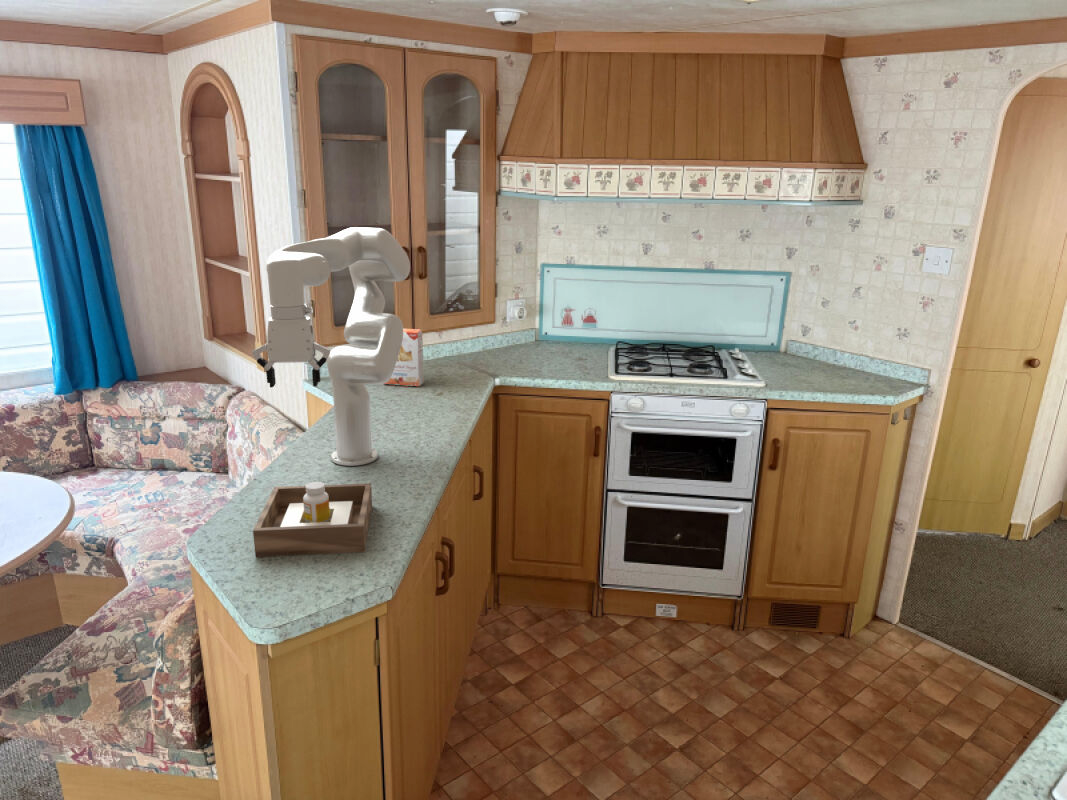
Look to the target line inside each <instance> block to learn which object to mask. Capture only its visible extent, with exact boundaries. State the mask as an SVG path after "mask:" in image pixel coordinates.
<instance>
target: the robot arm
mask: <svg viewBox="0 0 1067 800" xmlns="http://www.w3.org/2000/svg"><path fill="white" fill-rule="evenodd" d="M346 268H348V270H349V273H350V277H351V282H352V286H353V289H354V290H353V291H354V297H353V301H352V305H351V308H350V310H349V313H348V316H347V318H346V323H345V326H344V330H343V336H344V339H345V341H346V342H347V343H348V344H349V345H338V346H335V347H334V348H332V349H330V348H328V347H326V346H324V345H322V344H320V343H317V342H315V333H314V328H313V324H312V320H311V317H310V316H307V315H309V314H313V313H314V311H313V307H312V306H311V307H309V306H307V304H306V297H305V287H319V286H322V285H324V284H325V283H326V282H327V281H328V280H329V278H330V276H331V273H332V272H340V271H342V270H344V269H346ZM266 272H267V273H266V274H267V283H268V292H269V293H268V294H269V303H270V304H269V305H270V316H271V317H269V318H268V321H267V333H266V334H267V336H266V337H267V339H266V341H267V343H265V344H263V345H261V346H259V347H256V348H255V349H253V350H252V351H251V355H252V356H253V358H254V359H255V360H256V362H257V364H258V365H259V366H260V367H262V368H263V370H264V371H265V374H266V382H267V384H269V388H273V387H275V386H276V370H275V368H274V364H278V363H279V364H283V363H285V364H287V363H308V364H310V366H311V367H312V370H311V376H312V387H317V386H318V385H319V383H321V367H322V366H323V365H325V364H326V367H327V372H328V376H329V379H330V382H331V389H332V399H333V415H334V416H333V417H334V433H335V444H336V449H335V450H334V451H333V452H332V453H331V455H330V458H331V459H330V460H331V461H332V462H333V463H334V464H336V465H339V466H346V467H347V466H348V467H350V466H351V467H353V466H354V467H355V466H363V465H366V464H370V463H373V462H374V461H375V460H376V459H378V457H379V456H378V455H379V454H378V453H379V451H377V450H376V449H375V448H373V446H372V445H373V444H372V442H373V441H372V424H371V423H372V421H371V403H370V401H371V400H370V394H369V392H368V389H367V387H366V386H365V384H371V385H383V384H384V383H387V382H388V381H389V380H390V378H391V376H392V374H393V371H394V368H395V364H396V361H397V358H398V354H399V351H400V348H401V344H402V340H403V333H404V330H403V328H404V325H403V321H402V319H401V318H400V317H399V316H397V315H396V314H393V313H387V312H386V313H385V312H384V310H385V306H386V299H385V297H384V294H383V293H382V292H383V291H382V290H381V289H380V288H379V286H378V285H377V283H376V282H395V283H396V282H403V281H405V280H406V279H407V278H408V276H409V275H410V272H411V262H410V259H409V256H408V254H407V252H406V251H405V250H404V248H403V247H402V245H401V244H400V243H399V242H398V240H397V239H396V238H395V237H394V236H393V234H392V233H390V231H388V230H386V229H384V228H380V227H363V226H362V227H361V226H360V227H357V226H355V227H354V226H353V227H348V228H346V229H343V230H341V231H339V232H337V233H335V234H332V235H330V236H327V237H324V238H317V239H312V240H309V241H304V242H299V243H294V244H289V245H286V246H284V247H282V248H279V249H277V250H275V251H273V253H272V254H271V255H270V256H269V257H268V260H267V262H266ZM266 351H267V358H268V360H266V359H265V358H264V357H263V356H262V354H263V353H264V352H266ZM316 351H318V352H320V353H322V356H321V358H320V359H319V360H318V359H317V357H316V353H317V352H316Z"/></svg>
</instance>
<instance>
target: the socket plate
mask: <svg viewBox="0 0 1067 800" xmlns="http://www.w3.org/2000/svg"><path fill="white" fill-rule="evenodd" d="M329 510H330V519H331V522H315V523H304V521H305V516H304V503H290V504H289V507H288V509H287V512H286V514H285V516H284V519H283V521H282V524H281V526H280V527H292V526H315V525H339V524H350V523H351V519H352V514H353V501H341V502H329Z"/></svg>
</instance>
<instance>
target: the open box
mask: <svg viewBox="0 0 1067 800" xmlns="http://www.w3.org/2000/svg"><path fill="white" fill-rule="evenodd" d="M324 485H325V491H324V492H326V493H327V494H328V496H329V502H341V501H353V514H352V519H351V523H350V524H339V525H315V526H292V527H280V526H281V524H282V521H283V519H284V516H285V514H286V512H287V509H288V507H289V504H290V503H303V497H304V495H305V494H306V485H295V486H294V485H289V486H273V488H272V490H271V492H270V495H269V497H268V498H267V501H266V503H265V505H264V507H263V509H262V511H261V513H260V516H259V518H258V519H257V521H256V524H255V526H254V527H253V529H252V534H253V543H254V553H255V557H256V558H264V557H265V558H266V557H282V556H284V557H287V556H305V555H306V556H307V555H310V556H311V555H327V554H346V553H347V554H350V553H351V554H353V553H365V552H366V547H367V542H368V536H367V535H369V529H370V524H369V523H370V522H371V516H372V510H373V493H372V483H349V484H348V483H345V484H341V483H340V484H324ZM330 522H331V519H330ZM304 523H305V521H304ZM366 541H367V542H366Z"/></svg>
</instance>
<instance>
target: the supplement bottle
mask: <svg viewBox="0 0 1067 800" xmlns="http://www.w3.org/2000/svg"><path fill="white" fill-rule="evenodd" d="M325 485H326V484H325V483H324V482H321V481H312V482H309V483H307V484H305V486H306V494H305V495H304V497H303V503H304V516H305V523H315V522H330V510H329V496H328V494H327V493H326V492H324V491H325Z"/></svg>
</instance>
